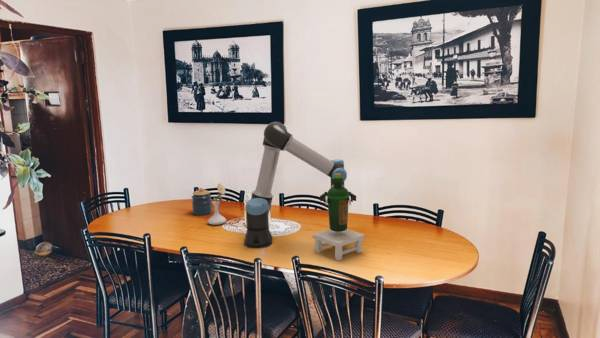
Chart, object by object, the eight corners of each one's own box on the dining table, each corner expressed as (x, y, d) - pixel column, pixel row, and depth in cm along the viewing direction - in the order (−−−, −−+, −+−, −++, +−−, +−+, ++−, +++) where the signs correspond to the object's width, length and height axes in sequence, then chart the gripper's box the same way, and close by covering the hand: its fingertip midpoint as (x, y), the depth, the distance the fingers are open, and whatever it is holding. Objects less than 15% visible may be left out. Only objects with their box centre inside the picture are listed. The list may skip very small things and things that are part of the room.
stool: (338, 261, 199) (338, 243, 198) (313, 251, 213) (312, 234, 211) (364, 251, 211) (364, 234, 209) (338, 242, 224) (338, 226, 223)
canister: (191, 212, 291) (189, 187, 288) (209, 209, 296) (208, 185, 293) (194, 216, 279) (193, 190, 276) (214, 214, 285) (212, 188, 282)
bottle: (350, 232, 205) (349, 175, 200) (328, 233, 205) (327, 176, 200) (348, 226, 215) (347, 171, 210) (327, 226, 215) (326, 172, 210)
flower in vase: (216, 227, 256) (214, 186, 252) (203, 224, 263) (201, 184, 258) (232, 222, 266) (230, 183, 262) (219, 219, 273) (217, 181, 269)
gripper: (359, 198, 225) (362, 209, 203) (316, 198, 227) (314, 209, 205) (359, 184, 223) (362, 194, 202) (315, 185, 225) (314, 194, 204)
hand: (338, 202), depth 203 cm, fingers closed on bottle, 11 cm apart
